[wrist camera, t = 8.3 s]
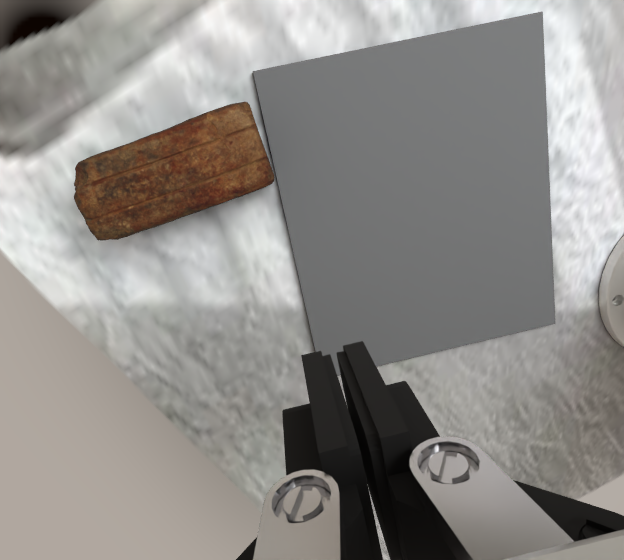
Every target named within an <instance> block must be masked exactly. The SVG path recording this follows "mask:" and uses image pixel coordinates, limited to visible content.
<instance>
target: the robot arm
mask: <svg viewBox="0 0 624 560" xmlns="http://www.w3.org/2000/svg"><path fill="white" fill-rule="evenodd" d="M599 307H600V313H601V317H602V320H603V322H604V325H605V327H606V329H607V331H608V332H609V333H610V335H611V336H612V338H613V339H614V340H615V341H616V342H618V343H619V344H620V345H621V346H622V347H624V236H623V237H622V238H621V239H620V240H619V242H618V243H617V245H616V246H615V248H614V250H613V251H612V253H611V255H610V256H609V259H608V261H607V263H606V266H605V268H604V271H603V274H602V278H601V283H600V287H599ZM336 354H337V359H338V364H339V369H340V374H341V378H342V383H343V388H344V393H345V398H346V402H347V405H346V402H345V399H344V396H343V392H342V389H341V386H340V383H339V380H338V377H337V374H336V371H335V367H334V364H333V361H332V358H331V355H330V354H329V355H324V356H323V355H322V352H321V351H318V352H314V353H309V354H305V355H302V361H303V367H304V373H305V378H306V384H307V390H308V395H309V401H310V404H306V405H302V406H297V407H293V408H289V409H285V410H283V429H284V444H285V460H286V475H287V476H285V477H283V478H281V479H280V480H279V481H278V482H276V483H275V484H274V485H273V486H272V488H271V489H270V490H269V492H268V493H267V495H266V498H265V501H264V504H263V509H262V515H261V521H260V525H259V531H258V536H257V538H256V539H255V540H254V541H253V542H252V543H251V544H250V545H249V546H248V547H247V548H246V550H245V551H244V552H243V553H242V554H241V555H240V556H239V557H238V558H237V559H236V560H383V558H382V553H381V548H380V544H379V539H378V534H377V529H376V524H375V519H374V514H373V510H372V505H371V500H370V495H369V491H370V494H371V497H372V501H373V504H374V507H375V511H376V514H377V517H378V520H379V524H380V527H381V530H382V533H383V537H384V540H385V543H386V546H387V550H388V553H389V556H390V559H391V560H624V516H622V515H620V514H618V513H615V512H612V511H609V510H605V509H602V508H599V507H596V506H592V505H590V504H587V503H583V502H580V501H577V500H574V499H571V498H568V497H565V496H561V495H558V494H555V493H552V492H549V491H546V490H543V489H539V488H536V487H533V486H530V485H527V484H524V483H521V482H517V481H514V480H512V479H511V478H510V477H509V476H508V475H507V474H506V473H505V472H504V471H503V470H502V469H501V468H500V467H499V466H498V465H497V464H496V463H495V462H494V461H493V460H492V459H491V458H490V457H489V456H488V455H487V454H486V453H485V452H484V451H483V450H482V449H481V448H480V447H478V446H477V445H475V444H474V443H473V442H470V441H468V440H465V439H463V438H457V437H452V436H447V437H440V436H439V434H438V432H437V431H436V429H435V428H434V426H433V424H432V423H431V421H430V419H429V418H428V416H427V415H426V413H425V411H424V410H423V408H422V406H421V405H420V403H419V401H418V400H417V398H416V397H415V395H414V393H413V392H412V390H411V388H410V387H409V385H408V384H407V382H406V381H402V382H398V383H394V384H390V385H385V383H384V381H383V379H382V377H381V375H380V373H379V371H378V369H377V367H376V365H375V364H374V362H373V360H372V358H371V356H370V354H369V352H368V350H367V348H366V346H365V344H364V342H363V341H361V342H356V343H352V344H348V345H343V351H342V352H337V353H336ZM347 407H348V408H347ZM367 484H368V485H367ZM368 488H369V490H368Z"/></svg>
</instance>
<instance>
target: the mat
mask: <svg viewBox="0 0 624 560" xmlns="http://www.w3.org/2000/svg"><path fill="white" fill-rule="evenodd" d="M253 75H254V79H255V84H256V88H257V92H258V97H259V101H260V106H261V110H262V115H263V119H264V124H265V128H266V133H267V137H268V142H269V146H270V151H271V155H272V160H273V164H274V168H275V173H276V177H277V182H278V186H279V191H280V195H281V200H282V204H283V209H284V213H285V218H286V222H287V227H288V231H289V235H290V240H291V244H292V249H293V253H294V258H295V262H296V267H297V271H298V276H299V280H300V285H301V289H302V294H303V298H304V302H305V307H306V311H307V316H308V320H309V325H310V329H311V334H312V338H313V343H314V347H315V352H318V351H321V352H322V355H323V356H324V355H329V354H330V355H331V358H332V361H333V364H334V367H335V371H336V374H337V376H339V375H341V374H340V369H339V364H338V359H337V354H336V353H337V352H342V351H343V345H348V344H352V343H356V342H361V341H363V342H364V344H365V346H366V348H367V350H368V352H369V354H370V356H371V358H372V360H373V362H374V364H375V365H376V366H380V365H384V364H389V363H393V362H397V361H401V360H405V359H410V358H414V357H418V356H422V355H426V354H430V353H435V352H439V351H443V350H447V349H451V348H456V347H460V346H464V345H468V344H472V343H476V342H481V341H485V340H489V339H493V338H497V337H502V336H506V335H510V334H514V333H518V332H522V331H527V330H531V329H535V328H539V327H543V326H547V325H552V324H555V305H554V280H553V255H552V231H551V206H550V182H549V157H548V133H547V108H546V83H545V59H544V34H543V12H538V13H533V14H529V15H524V16H519V17H514V18H509V19H504V20H500V21H495V22H490V23H485V24H480V25H475V26H470V27H466V28H461V29H456V30H451V31H446V32H441V33H437V34H432V35H427V36H422V37H417V38H412V39H408V40H403V41H398V42H393V43H388V44H383V45H378V46H374V47H369V48H364V49H359V50H354V51H349V52H345V53H340V54H335V55H330V56H325V57H320V58H315V59H311V60H306V61H301V62H296V63H291V64H286V65H282V66H277V67H272V68H267V69H262V70H257V71H253Z"/></svg>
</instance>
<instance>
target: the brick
mask: <svg viewBox="0 0 624 560" xmlns="http://www.w3.org/2000/svg"><path fill="white" fill-rule="evenodd" d="M75 170H76V180H75V183H74V186H75V191H76V193H75V194H74V199H75V202H76V204H77V207H78V209H79V210H80V212H81V213H82V215H83V217H84V219H85V221H86V224H87V225H88V227H89V229H90V231H91V232H92V234H93V235H94V236H95V237H96V238H97V240H109V239H120V238H123V237H127V236H130V235H132V234H135V233H138V232H141V231H144V230H147V229H150V228H153V227H156V226H159V225H162V224H165V223H168V222H171V221H174V220H176V219H179V218H181V217H184V216H187V215H190V214H193V213H196V212H198V211H201V210H204V209H206V208H209V207H212V206H215V205H218V204H221V203H224V202H227V201H229V200H232V199H235V198H237V197H240V196H243V195H246V194H248V193H251V192H254V191H256V190H259V189H262V188H264V187H266V186H268V185H270V184H272V183H273V182H274V178H275V177H274V173H273V171H272V168H271V165H270V162H269V160H268V157H267V154H266V151H265V148H264V146H263V143H262V140H261V137H260V135H259V132H258V129H257V126H256V123H255V120H254V117H253V114H252V111H251V108H250V105H249V104H248V103H247V102H242V103H235V104H231V105H227V106H224V107H221V108H218V109H215V110H213V111H210V112H207V113H204V114H202V115H199V116H197V117H194V118H191V119H188V120H186V121H184V122H182V123H180V124H178V125H175V126H173V127H171V128H168V129H166V130H163V131H161V132H158V133H155V134H151V135H149V136H147V137H144V138H141V139H139V140H137V141H134V142H131V143H129V144H126V145H123V146H120V147H117V148H114V149H112V150H108V151H105V152H102V153H99V154H97V155H94V156H91V157H89V158H87V159H85V160H83V161H80V162H79V163H78V164H77V165H76V168H75Z"/></svg>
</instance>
